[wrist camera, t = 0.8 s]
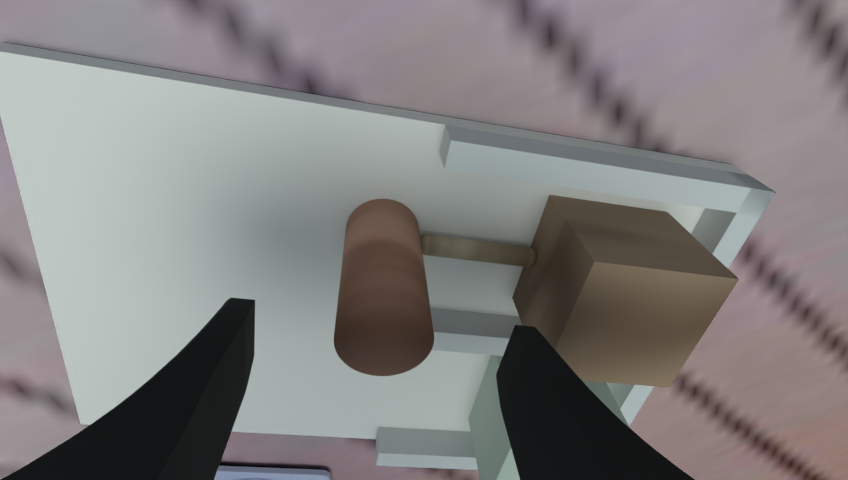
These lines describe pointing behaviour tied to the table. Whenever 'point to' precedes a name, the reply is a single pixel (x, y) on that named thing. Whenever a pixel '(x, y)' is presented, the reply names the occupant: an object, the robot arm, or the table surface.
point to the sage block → (491, 432)
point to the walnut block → (539, 289)
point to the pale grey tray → (300, 234)
